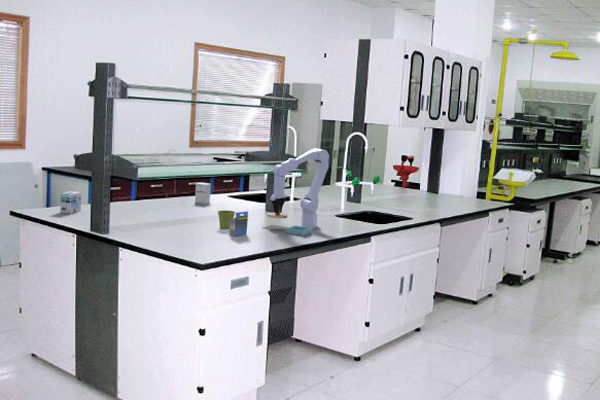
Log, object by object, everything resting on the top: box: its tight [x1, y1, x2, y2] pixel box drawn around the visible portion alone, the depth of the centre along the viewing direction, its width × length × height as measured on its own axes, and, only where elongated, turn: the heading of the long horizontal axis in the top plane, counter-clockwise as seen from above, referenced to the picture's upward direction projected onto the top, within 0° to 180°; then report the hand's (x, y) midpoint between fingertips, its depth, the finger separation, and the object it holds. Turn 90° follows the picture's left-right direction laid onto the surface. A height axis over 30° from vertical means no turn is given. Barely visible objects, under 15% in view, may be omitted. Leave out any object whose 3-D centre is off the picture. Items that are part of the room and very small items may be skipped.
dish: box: [285, 225, 313, 237], centre depth 343 cm, size 10×10×3 cm
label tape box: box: [229, 210, 249, 237], centre depth 329 cm, size 9×4×12 cm, turn 141°
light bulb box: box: [59, 190, 82, 215], centre depth 358 cm, size 11×7×11 cm, turn 168°
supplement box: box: [194, 182, 212, 205], centre depth 415 cm, size 7×7×13 cm
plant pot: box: [217, 209, 236, 230], centre depth 344 cm, size 9×9×9 cm
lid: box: [266, 206, 288, 219], centre depth 350 cm, size 11×11×6 cm
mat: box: [262, 224, 289, 232], centre depth 352 cm, size 12×12×1 cm
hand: (277, 212), depth 350 cm, fingers closed on lid, 3 cm apart
